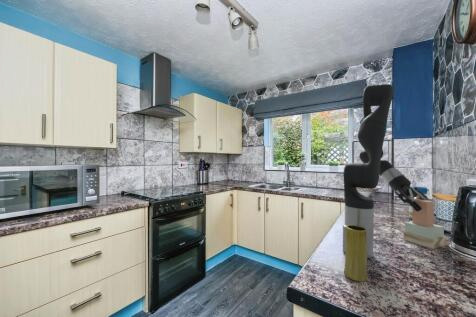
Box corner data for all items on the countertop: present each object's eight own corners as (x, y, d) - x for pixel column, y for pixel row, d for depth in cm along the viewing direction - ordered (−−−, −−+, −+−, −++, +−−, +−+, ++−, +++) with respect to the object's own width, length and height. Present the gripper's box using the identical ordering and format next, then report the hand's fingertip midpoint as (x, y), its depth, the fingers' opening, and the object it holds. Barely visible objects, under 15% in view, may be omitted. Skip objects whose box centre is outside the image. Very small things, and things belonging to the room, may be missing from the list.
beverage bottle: (425, 227, 105) (425, 188, 105) (405, 223, 112) (405, 186, 112) (432, 225, 109) (432, 187, 109) (412, 221, 116) (412, 186, 116)
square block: (426, 226, 83) (427, 202, 83) (412, 223, 87) (412, 199, 87) (433, 225, 85) (433, 201, 85) (418, 221, 89) (419, 199, 89)
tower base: (432, 250, 79) (432, 239, 79) (403, 240, 88) (403, 231, 88) (446, 246, 83) (446, 236, 83) (416, 237, 92) (417, 228, 92)
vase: (346, 267, 65) (346, 223, 65) (369, 275, 61) (369, 227, 61) (341, 276, 60) (342, 228, 60) (366, 284, 56) (366, 232, 56)
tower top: (430, 239, 80) (430, 228, 80) (404, 231, 89) (405, 222, 89) (443, 236, 83) (443, 226, 83) (417, 229, 92) (417, 220, 92)
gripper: (392, 174, 91) (423, 205, 80) (410, 174, 96) (442, 203, 86) (379, 185, 95) (408, 215, 85) (398, 183, 101) (426, 212, 90)
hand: (425, 209), depth 85 cm, fingers open, 8 cm apart
